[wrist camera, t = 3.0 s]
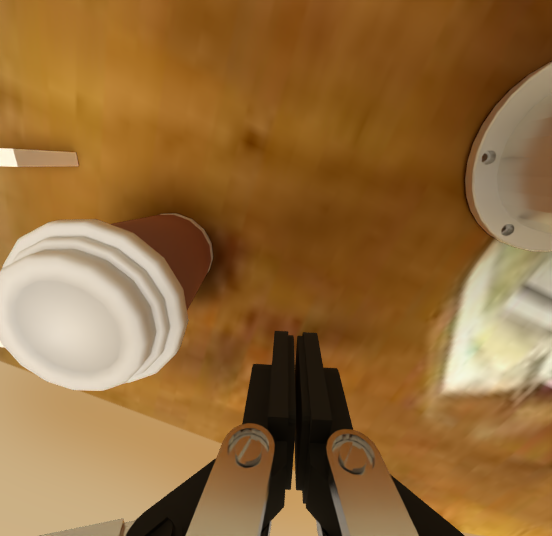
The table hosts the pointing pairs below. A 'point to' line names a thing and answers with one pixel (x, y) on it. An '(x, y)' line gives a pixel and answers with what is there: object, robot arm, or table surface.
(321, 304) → the table surface
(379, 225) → the table surface
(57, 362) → the coffee cup
